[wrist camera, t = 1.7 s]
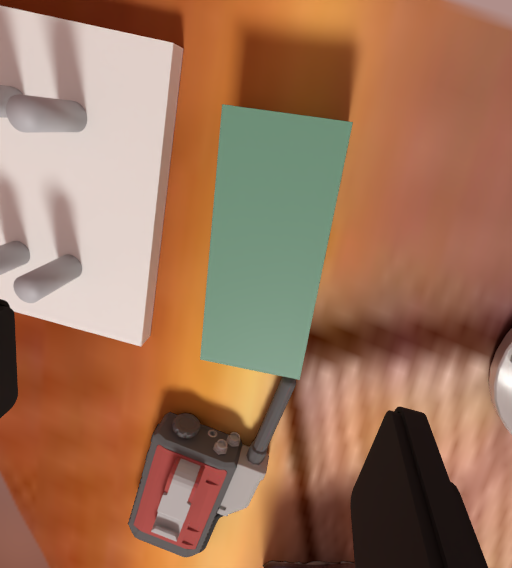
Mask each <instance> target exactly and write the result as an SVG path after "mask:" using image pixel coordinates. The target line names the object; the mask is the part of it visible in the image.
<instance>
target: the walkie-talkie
mask: <svg viewBox="0 0 512 568" xmlns="http://www.w3.org/2000/svg"><path fill="white" fill-rule="evenodd" d="M295 385H296V380H295V379H293V378H288V377H282V379H281V381H280V383H279V386H278V388H277V390H276V393H275V395H274V397H273V399H272V402H271V404H270V406H269V409H268V411H267V413H266V415H265V418H264V420H263V422H262V425H261V427H260V429H259V431H258V434H257V436H256V438H255V440H254V441H253V442H252V443H251V445H250V447H249V446H246V445H244V444H242V441H241V439H240V435H239V434H238V433H236V432H232V433H231V434H230V435H228V434H226V433H223V432H221V431H218V430H215V429H213V428H210V427H208V426H205V425H202V424H200V421H199V420H198V418H196V417H195V416H194V415H192V414H188V413H182V414H178V415H176V414H174V413H171V412H169V413H167V414H166V415H165V416H164V418H163V419H162V421H161V423H160V424H158V425H157V427H156V429H155V431H154V432H153V435H152V439H151V446H150V449H149V451H148V453H147V456H146V463H145V466H144V470H143V473H142V478H141V480H140V481H141V482H140V484H139V488H138V492H137V496H136V498H135V501H134V505H133V509H132V511H131V512H132V513H131V515H130V519H129V522H128V525H129V527H130V529H131V531H132V533H133V535H134V536H135V537H136V538H137V539H139V540H142V541H144V542H147V543H149V544H152V545H155V546H157V547H160V548H162V549H165V550H167V551H170V552H172V553H175V554H177V555H180V556H182V557H190V556H193V555H195V554H197V553H200V552H202V551H203V550H204V549H205V548H206V546H207V543H208V541H209V539H210V536H211V534H212V532H213V529H214V527H215V525H216V523H217V521H218V519H219V518H220V517H222V516H225V515H226V516H228V514H231V513H233V512H236V511H239V510H242V509H244V508H246V507H247V506H248V505H249V503H250V501H251V499H252V497H253V495H254V493H255V490H256V488H257V486H258V484H259V482H260V481H261V480H263V478H264V476H265V474H266V471H267V465H268V459H269V455H268V454H267V450H268V449H267V447H268V444H269V442H270V440H271V438H272V436H273V434H274V431H275V429H276V427H277V425H278V423H279V420H280V418H281V416H282V414H283V412H284V409H285V407H286V405H287V403H288V401H289V399H290V396H291V394H292V392H293V390H294V388H295Z"/></svg>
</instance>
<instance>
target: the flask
mask: <svg viewBox="0 0 512 568" xmlns="http://www.w3.org/2000/svg"><path fill="white" fill-rule="evenodd" d="M263 566H264V568H355V564H354V563H352V562H345V561H344V562H343V561H341V564H339V563H329V562H328V563H326V562H319V561H317V562H314V561H313V562H310V563H307V564H301V563H300V562H296V563H288V562H286V561H285V562H275V561H270V562H268V563H267V564H265V565H263Z"/></svg>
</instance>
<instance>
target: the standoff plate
mask: <svg viewBox="0 0 512 568" xmlns="http://www.w3.org/2000/svg"><path fill="white" fill-rule="evenodd" d="M182 57H183V48H181V47H180V46H178V45H176V44H174V43H172V42H167V41H162V40H158V39H153V38H148V37H144V36H139V35H135V34H130V33H125V32H121V31H116V30H111V29H107V28H102V27H97V26H93V25H88V24H84V23H79V22H74V21H70V20H65V19H60V18H56V17H51V16H47V15H42V14H37V13H33V12H28V11H23V10H19V9H14V8H9V7H5V6H0V299H2V300H5V301H7V302H8V304H9V305H10V308H11V309H12V310H13V311H15V312H18V313H22V314H26V315H29V316H33V317H36V318H40V319H44V320H47V321H51V322H54V323H58V324H62V325H65V326H69V327H73V328H76V329H80V330H83V331H87V332H91V333H94V334H98V335H102V336H105V337H109V338H112V339H116V340H120V341H123V342H127V343H130V344H134V345H138V346H142V345H143V344H144V343H145V341H146V340H147V339H148V338H149V337H150V334H151V325H152V316H153V308H154V299H155V290H156V282H157V273H158V265H159V256H160V247H161V239H162V230H163V221H164V213H165V204H166V195H167V187H168V178H169V169H170V161H171V152H172V144H173V135H174V126H175V118H176V109H177V100H178V92H179V83H180V74H181V66H182Z"/></svg>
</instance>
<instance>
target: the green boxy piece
mask: <svg viewBox="0 0 512 568" xmlns="http://www.w3.org/2000/svg"><path fill="white" fill-rule="evenodd" d="M352 123H353V122H348V121H341V120H333V119H326V118H319V117H311V116H304V115H297V114H289V113H282V112H275V111H267V110H260V109H253V108H245V107H238V106H230V105H223V104H222V114H221V126H220V137H219V149H218V160H217V172H216V183H215V195H214V207H213V218H212V230H211V241H210V253H209V264H208V276H207V287H206V299H205V311H204V322H203V334H202V345H201V357H200V359H201V360H206V361H210V362H215V363H220V364H225V365H230V366H235V367H240V368H244V369H249V370H254V371H259V372H264V373H269V374H274V375H279V376H283V377H288V378H293V379H298V380H300V375H301V370H302V365H303V360H304V355H305V351H306V346H307V341H308V336H309V331H310V326H311V322H312V317H313V312H314V307H315V302H316V297H317V293H318V288H319V283H320V278H321V273H322V268H323V264H324V259H325V254H326V249H327V244H328V239H329V235H330V230H331V225H332V220H333V215H334V210H335V206H336V201H337V196H338V191H339V186H340V181H341V177H342V172H343V167H344V162H345V157H346V152H347V148H348V143H349V138H350V133H351V128H352Z"/></svg>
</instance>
